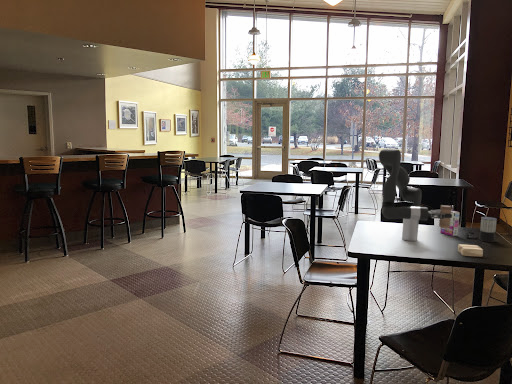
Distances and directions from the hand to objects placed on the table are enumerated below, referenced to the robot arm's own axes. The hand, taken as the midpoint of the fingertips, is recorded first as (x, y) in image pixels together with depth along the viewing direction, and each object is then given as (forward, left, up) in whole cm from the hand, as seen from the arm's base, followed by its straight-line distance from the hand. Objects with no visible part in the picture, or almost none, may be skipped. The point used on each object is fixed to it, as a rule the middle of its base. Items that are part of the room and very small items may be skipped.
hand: (450, 215), depth 233 cm
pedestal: (-1, +12, -22) cm, 25 cm away
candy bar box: (-53, +14, -22) cm, 59 cm away
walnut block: (0, -3, -7) cm, 8 cm away
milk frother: (-43, +31, -22) cm, 57 cm away
